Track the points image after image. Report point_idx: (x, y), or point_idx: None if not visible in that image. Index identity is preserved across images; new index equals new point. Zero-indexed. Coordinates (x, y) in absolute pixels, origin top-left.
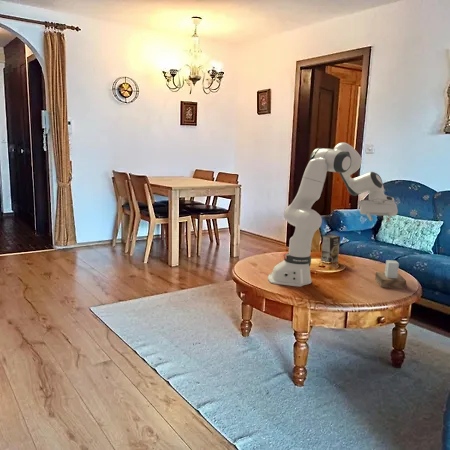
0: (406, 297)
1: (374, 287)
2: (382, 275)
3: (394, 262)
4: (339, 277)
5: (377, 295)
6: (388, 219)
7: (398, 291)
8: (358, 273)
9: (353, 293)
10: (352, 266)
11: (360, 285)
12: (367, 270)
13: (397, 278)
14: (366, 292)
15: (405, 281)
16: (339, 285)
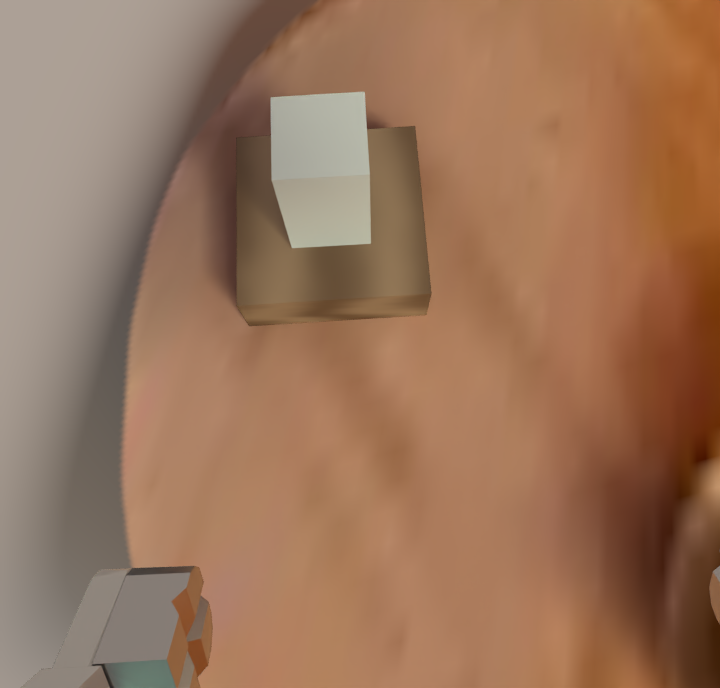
0: (290, 27)
1: (458, 144)
2: (391, 220)
3: (305, 117)
4: (704, 292)
5: (461, 18)
6: (155, 579)
7: None
8: (546, 437)
9: (605, 16)
10: (591, 659)
11: (551, 159)
12: (456, 553)
13: None
14: (523, 48)
15: (243, 139)
16: (696, 126)
